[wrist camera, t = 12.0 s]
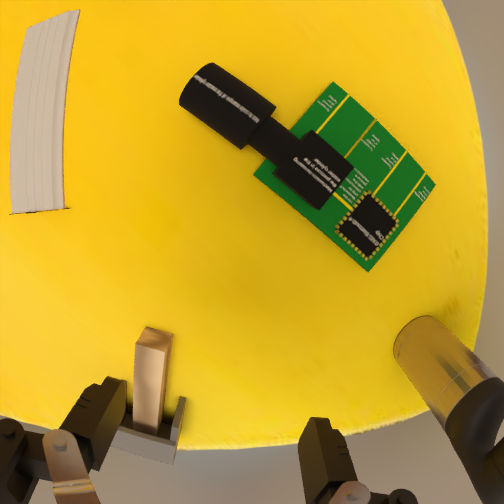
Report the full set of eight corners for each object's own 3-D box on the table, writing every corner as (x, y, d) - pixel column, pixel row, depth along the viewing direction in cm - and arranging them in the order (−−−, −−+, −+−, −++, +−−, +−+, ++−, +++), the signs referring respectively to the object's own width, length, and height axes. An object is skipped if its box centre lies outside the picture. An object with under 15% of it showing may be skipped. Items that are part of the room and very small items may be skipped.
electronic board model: (458, 187, 29) (384, 286, 32) (429, 183, 36) (363, 268, 38) (260, 7, 24) (165, 108, 27) (258, 33, 31) (180, 119, 33)
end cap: (186, 397, 43) (177, 433, 36) (180, 431, 46) (172, 464, 38) (121, 379, 43) (103, 411, 35) (121, 414, 45) (107, 445, 37)
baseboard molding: (90, 8, 28) (31, 31, 28) (81, 1, 26) (22, 26, 26) (75, 207, 36) (18, 212, 36) (64, 210, 33) (6, 215, 33)
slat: (173, 333, 41) (165, 352, 36) (162, 416, 45) (156, 436, 40) (146, 325, 40) (135, 343, 36) (140, 410, 45) (133, 429, 40)
